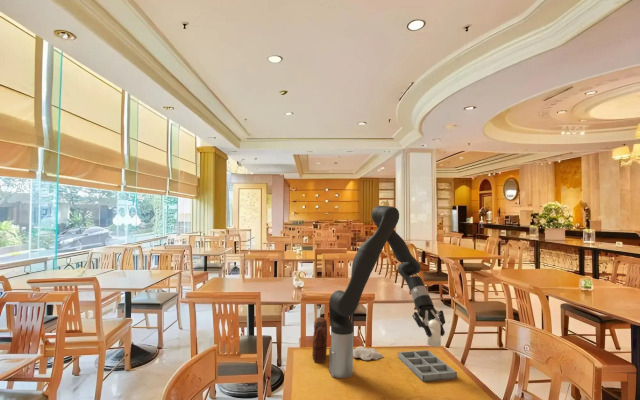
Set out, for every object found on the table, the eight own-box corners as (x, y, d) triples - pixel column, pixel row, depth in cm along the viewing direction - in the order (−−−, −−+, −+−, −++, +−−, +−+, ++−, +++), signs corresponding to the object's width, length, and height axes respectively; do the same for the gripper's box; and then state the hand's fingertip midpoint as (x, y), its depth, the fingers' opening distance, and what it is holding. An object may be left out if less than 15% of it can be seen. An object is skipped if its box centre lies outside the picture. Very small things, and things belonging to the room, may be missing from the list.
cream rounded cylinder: (431, 347, 136) (431, 322, 137) (425, 342, 141) (424, 318, 142) (443, 346, 137) (443, 321, 138) (436, 341, 142) (436, 317, 143)
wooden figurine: (312, 352, 159) (312, 314, 159) (325, 352, 159) (326, 314, 160) (312, 363, 147) (313, 322, 148) (327, 363, 147) (328, 322, 148)
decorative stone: (352, 362, 150) (384, 365, 151) (353, 354, 150) (386, 357, 151) (349, 349, 161) (379, 352, 162) (350, 341, 161) (380, 344, 161)
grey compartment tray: (422, 381, 132) (422, 375, 133) (398, 357, 154) (398, 352, 155) (456, 378, 135) (456, 372, 136) (428, 355, 157) (428, 350, 158)
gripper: (409, 294, 146) (424, 332, 134) (439, 293, 149) (456, 330, 137) (404, 304, 151) (417, 341, 139) (432, 302, 154) (448, 338, 142)
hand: (436, 335), depth 138 cm, fingers closed on cream rounded cylinder, 5 cm apart
